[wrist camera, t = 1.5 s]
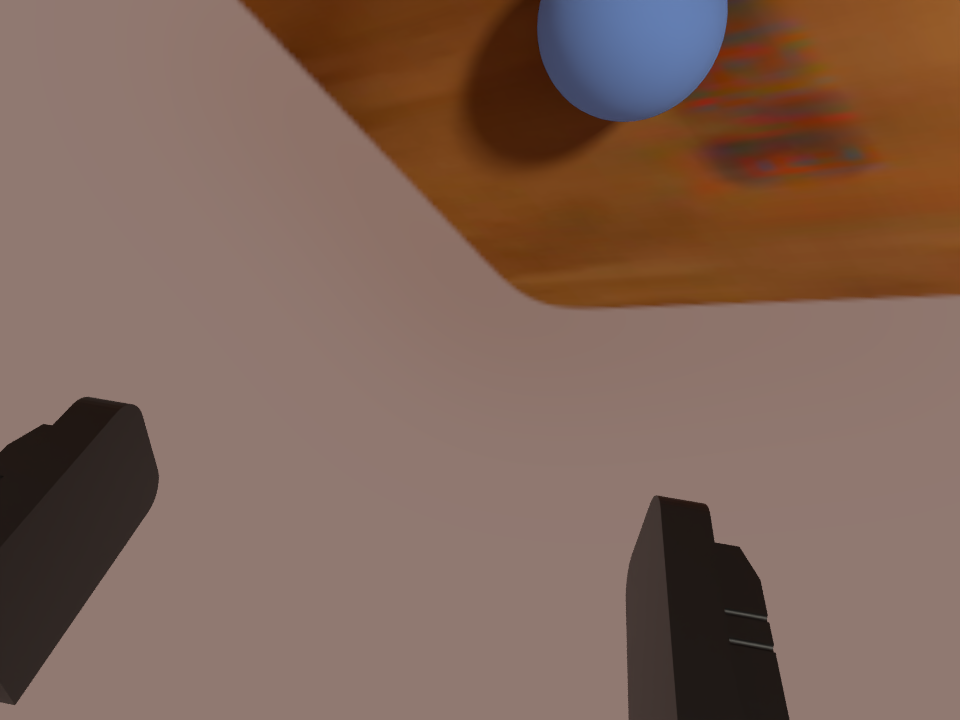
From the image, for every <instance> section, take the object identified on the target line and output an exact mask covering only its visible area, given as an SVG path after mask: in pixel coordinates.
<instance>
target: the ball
mask: <svg viewBox="0 0 960 720" xmlns="http://www.w3.org/2000/svg"><path fill="white" fill-rule="evenodd" d="M727 13H728V10H727V0H541V1H540V7H539V12H538V24H537V33H538V44H539V50H540V54H541V58H542V61H543V64H544V67H545V69H546V71H547V73H548V75H549V77H550V79H551V80H552V82H553V84H554V85H555V87H556V88H557V89H558V91H559V92H560V93H561V94H562V95H563V96H564V97H565V98H566V99H567V100H568V101H569V102H570V103H571V104H572V105H574V106H575V107H577V108H578V109H580V110H581V111H583V112H585V113H587V114H589V115H591V116H594V117H597V118H600V119H604V120H609V121H619V122H628V121H637V120H643V119H647V118H650V117H653V116H656V115H659V114H661V113H663V112H665V111H667V110H669V109H671V108H672V107H674V106H676V105H677V104H679V103H680V102H681V101H683V100H684V99H685V98H686V97H688V96H689V95H690V94H691V93H692V92H693V91H694V90H695V89H696V88H697V87H698V86H699V84H700V83H701V82H702V81H703V79H704V78H705V77H706V75H707V74H708V72H709V70H710V69H711V67H712V66H713V64H714V61H715V59H716V57H717V55H718V53H719V50H720V47H721V44H722V42H723V38H724V34H725V29H726V23H727Z"/></svg>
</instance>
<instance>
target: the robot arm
mask: <svg viewBox="0 0 960 720" xmlns="http://www.w3.org/2000/svg"><path fill="white" fill-rule="evenodd" d="M158 480H159V475H158V469H157V466H156V462H155V458H154V455H153V451H152V448H151V444H150V440H149V437H148V433H147V430H146V426H145V423H144V419H143V416H142V413H141V411H140V409H139V408H138V407H137V406H135V405H133V404H126V403H120V402H115V401H109V400H103V399H97V398H91V397H84V398H81V399H79V400H77V401H76V402H75V403H74V404H73V405H72V406H71V407H70V408H69V409H68V410H67V411H66V412H65V413H64V414H63V415H62V416H61V417H60V418H59V419H58V420H57V421H56V422H55V423H54V424H53V425H46V424H43V425H41V426H39V427H38V428H36V429H34V430H32V431H31V432H29V433H27V434H26V435H24V436H22V437H20V438H19V439H17V440H15V441H13V442H12V443H10V444H8V445H7V446H6V447H5V448H4V449H3V450H2V451H1V452H0V702H3V703H7V704H12V705H15V704H16V703H17V701H18V700H19V699H20V697H21V696H22V694H23V693H24V691H25V690H26V688H27V687H28V686H29V684H30V683H31V681H32V679H33V678H34V677H35V675H36V674H37V672H38V671H39V670H40V668H41V667H42V665H43V664H44V662H45V661H46V659H47V658H48V656H49V655H50V654H51V652H52V650H53V649H54V648H55V646H56V645H57V643H58V642H59V641H60V639H61V638H62V636H63V634H64V633H65V632H66V630H67V629H68V627H69V626H70V625H71V623H72V622H73V620H74V619H75V617H76V616H77V614H78V613H79V611H80V610H81V608H82V607H83V606H84V604H85V603H86V601H87V600H88V598H89V597H90V596H91V594H92V593H93V591H94V590H95V588H96V587H97V585H98V584H99V582H100V581H101V580H102V578H103V577H104V575H105V574H106V572H107V571H108V569H109V568H110V567H111V565H112V564H113V562H114V561H115V559H116V558H117V556H118V555H119V553H120V552H121V551H122V549H123V548H124V546H125V545H126V543H127V542H128V540H129V539H130V537H131V536H132V535H133V533H134V532H135V530H136V529H137V527H138V526H139V524H140V523H141V521H142V520H143V519H144V517H145V516H146V514H147V513H148V511H149V510H150V508H151V506H152V504H153V502H154V499H155V496H156V493H157V489H158ZM767 616H768V615H767V610H766V605H765V600H764V595H763V590H762V586H761V581H760V579H759V577H758V576H757V574H756V572H755V571H754V569H753V568H752V566H751V564H750V563H749V561H748V560H747V558H746V557H745V555H744V553H743V552H742V550H741V549H740V547H737V546H732V545H726V544H720V543H715V542H714V536H713V529H712V523H711V516H710V511H709V508H708V506H707V505H706V504H703V503H697V502H692V501H686V500H680V499H674V498H668V497H662V496H654V497H653V499H652V501H651V503H650V506H649V508H648V511H647V514H646V517H645V520H644V523H643V525H642V528H641V531H640V534H639V537H638V539H637V542H636V545H635V548H634V551H633V553H632V557H631V560H630V564H629V569H628V575H627V584H626V621H627V622H626V625H627V665H628V666H627V667H628V704H629V705H628V706H629V707H628V708H629V720H789V715H788V711H787V706H786V701H785V697H784V692H783V686H782V682H781V677H780V672H779V667H778V662H777V658H776V653H774V652H773V646H774V643H773V639H772V634H771V629H770V624H769V622H767Z"/></svg>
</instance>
